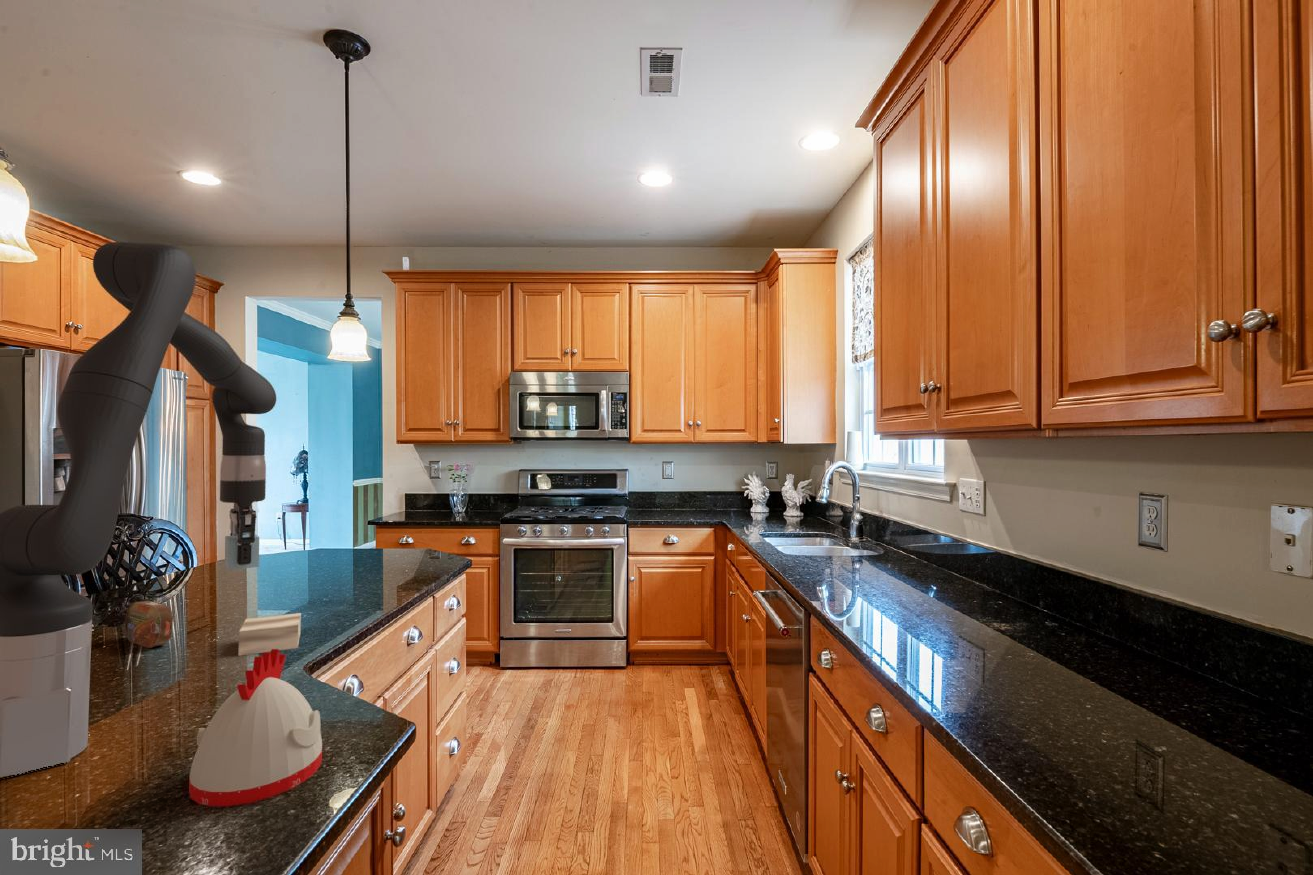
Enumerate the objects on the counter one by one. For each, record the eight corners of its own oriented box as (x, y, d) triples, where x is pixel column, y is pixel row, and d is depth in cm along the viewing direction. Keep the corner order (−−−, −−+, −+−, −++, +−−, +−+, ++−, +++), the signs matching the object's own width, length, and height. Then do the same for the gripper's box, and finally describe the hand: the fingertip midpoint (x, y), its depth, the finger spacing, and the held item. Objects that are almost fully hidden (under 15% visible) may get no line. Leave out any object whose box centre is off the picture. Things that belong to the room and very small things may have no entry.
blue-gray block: (258, 566, 117) (259, 537, 117) (228, 570, 114) (228, 539, 114) (254, 562, 121) (254, 533, 121) (224, 565, 118) (225, 536, 118)
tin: (122, 639, 124) (124, 599, 124) (141, 635, 127) (142, 596, 127) (156, 651, 117) (158, 609, 117) (175, 647, 120) (177, 605, 120)
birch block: (297, 649, 120) (298, 624, 120) (238, 656, 115) (239, 631, 115) (300, 635, 129) (300, 612, 129) (245, 642, 124) (246, 618, 124)
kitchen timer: (342, 745, 81) (345, 637, 81) (281, 806, 67) (285, 675, 68) (239, 746, 80) (243, 637, 81) (158, 806, 67) (162, 675, 67)
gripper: (272, 479, 115) (270, 565, 115) (259, 475, 125) (257, 554, 125) (225, 480, 110) (223, 570, 110) (215, 476, 120) (214, 558, 120)
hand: (241, 561), depth 117 cm, fingers closed on blue-gray block, 5 cm apart
